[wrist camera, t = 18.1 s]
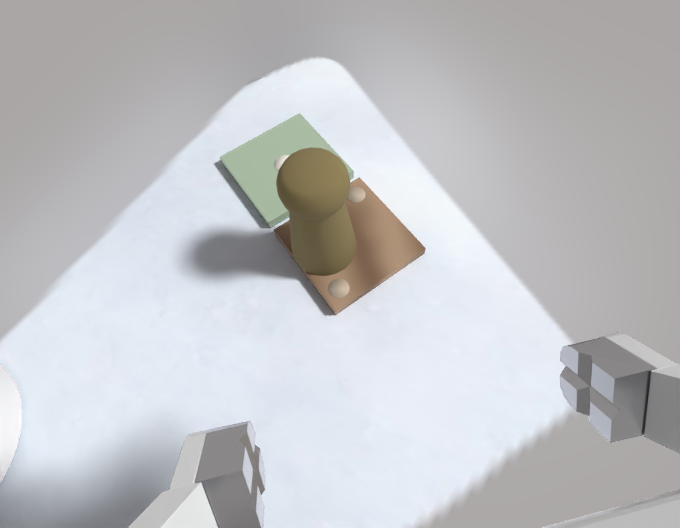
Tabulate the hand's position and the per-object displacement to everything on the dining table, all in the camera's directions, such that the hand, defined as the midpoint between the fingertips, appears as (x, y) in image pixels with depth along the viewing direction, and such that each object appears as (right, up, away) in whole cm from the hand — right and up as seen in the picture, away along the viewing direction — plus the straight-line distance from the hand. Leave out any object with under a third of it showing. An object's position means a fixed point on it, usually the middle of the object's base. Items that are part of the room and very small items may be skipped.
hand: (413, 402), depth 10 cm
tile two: (-1, +5, +28) cm, 28 cm away
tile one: (-7, +13, +32) cm, 35 cm away
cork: (-3, +5, +27) cm, 27 cm away
